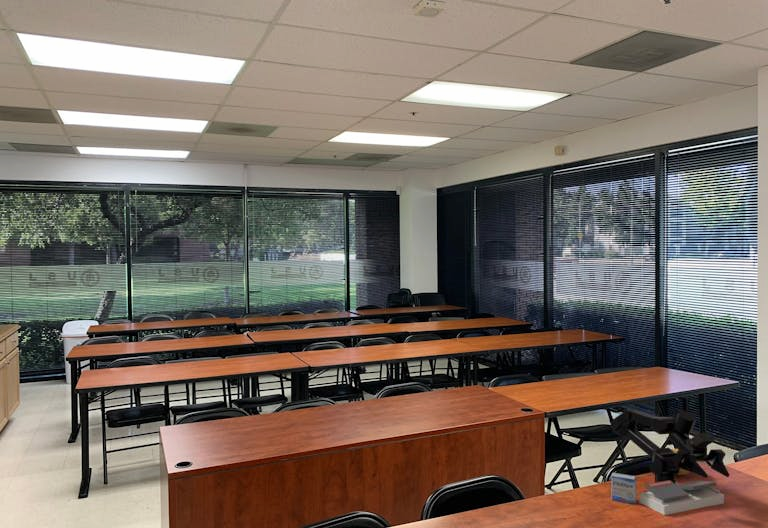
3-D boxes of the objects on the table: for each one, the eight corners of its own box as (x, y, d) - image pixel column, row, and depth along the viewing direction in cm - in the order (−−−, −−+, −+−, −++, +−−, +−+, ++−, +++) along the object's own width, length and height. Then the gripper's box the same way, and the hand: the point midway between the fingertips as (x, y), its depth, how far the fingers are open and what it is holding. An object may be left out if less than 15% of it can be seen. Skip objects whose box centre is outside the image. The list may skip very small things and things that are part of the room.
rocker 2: (675, 489, 199) (674, 484, 199) (698, 485, 202) (697, 480, 203) (693, 491, 191) (692, 486, 192) (717, 487, 195) (715, 481, 195)
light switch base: (639, 502, 195) (639, 490, 195) (696, 491, 204) (696, 480, 204) (664, 515, 185) (664, 503, 185) (724, 503, 194) (723, 491, 194)
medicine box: (611, 500, 197) (610, 475, 197) (612, 495, 201) (612, 471, 201) (635, 504, 193) (635, 479, 194) (636, 499, 197) (636, 475, 198)
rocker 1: (645, 488, 194) (646, 484, 194) (669, 484, 198) (670, 479, 198) (663, 502, 187) (664, 498, 187) (687, 498, 191) (688, 493, 190)
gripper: (671, 425, 191) (705, 457, 178) (714, 425, 197) (750, 456, 183) (659, 451, 195) (691, 484, 182) (701, 450, 201) (735, 482, 187)
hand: (717, 476), depth 183 cm, fingers open, 9 cm apart
